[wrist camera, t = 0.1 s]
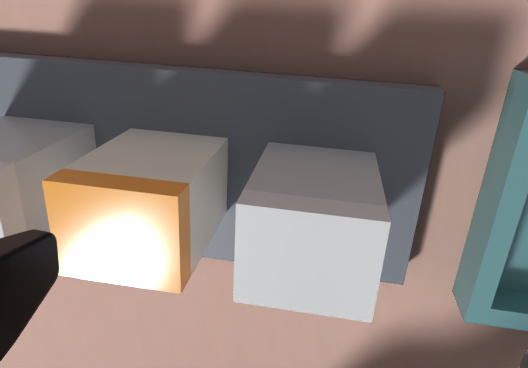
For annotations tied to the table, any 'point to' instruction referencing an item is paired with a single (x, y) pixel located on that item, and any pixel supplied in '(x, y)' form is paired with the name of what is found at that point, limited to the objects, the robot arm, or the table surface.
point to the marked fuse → (139, 208)
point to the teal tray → (500, 225)
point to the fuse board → (243, 122)
